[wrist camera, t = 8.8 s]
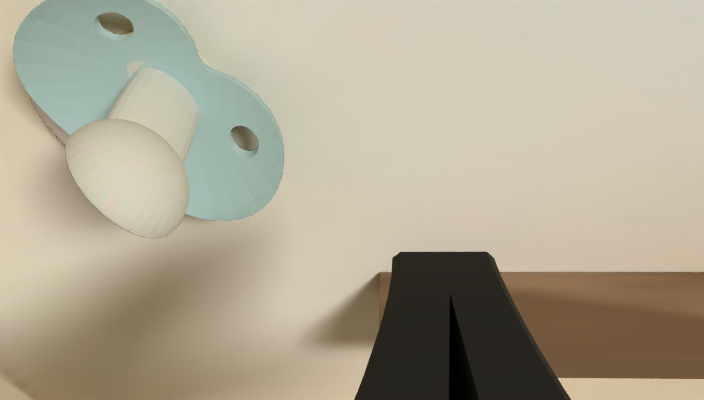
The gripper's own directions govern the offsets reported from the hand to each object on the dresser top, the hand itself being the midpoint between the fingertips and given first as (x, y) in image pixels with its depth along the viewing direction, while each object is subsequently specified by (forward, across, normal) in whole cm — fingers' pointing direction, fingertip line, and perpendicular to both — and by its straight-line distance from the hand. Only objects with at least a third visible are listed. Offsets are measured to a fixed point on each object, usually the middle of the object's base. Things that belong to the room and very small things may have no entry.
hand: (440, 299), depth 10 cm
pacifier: (+10, +7, +2) cm, 12 cm away
